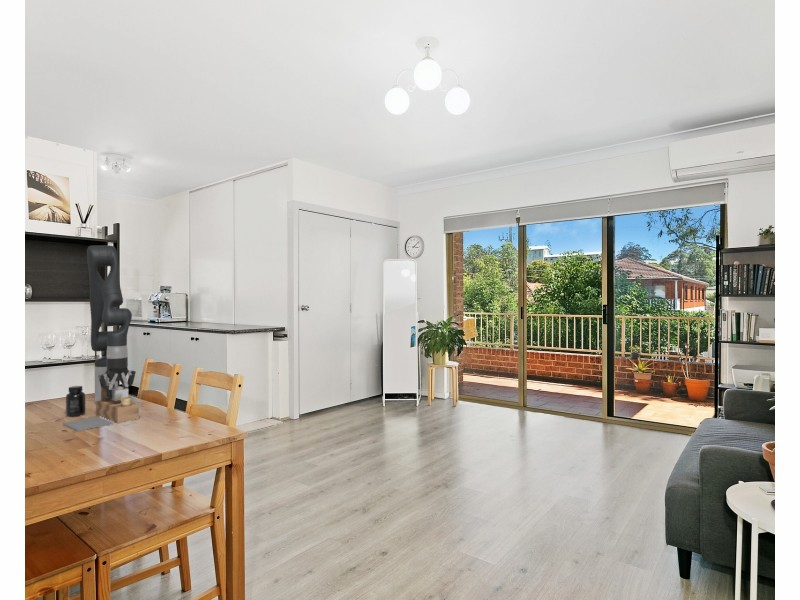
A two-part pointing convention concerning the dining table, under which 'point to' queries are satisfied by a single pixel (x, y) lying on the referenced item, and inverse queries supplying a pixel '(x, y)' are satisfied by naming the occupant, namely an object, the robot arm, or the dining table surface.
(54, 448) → the dining table surface
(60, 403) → the dining table surface
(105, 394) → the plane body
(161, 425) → the dining table surface
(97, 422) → the mat
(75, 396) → the supplement bottle
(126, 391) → the white rectangular block
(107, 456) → the dining table surface
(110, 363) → the robot arm
